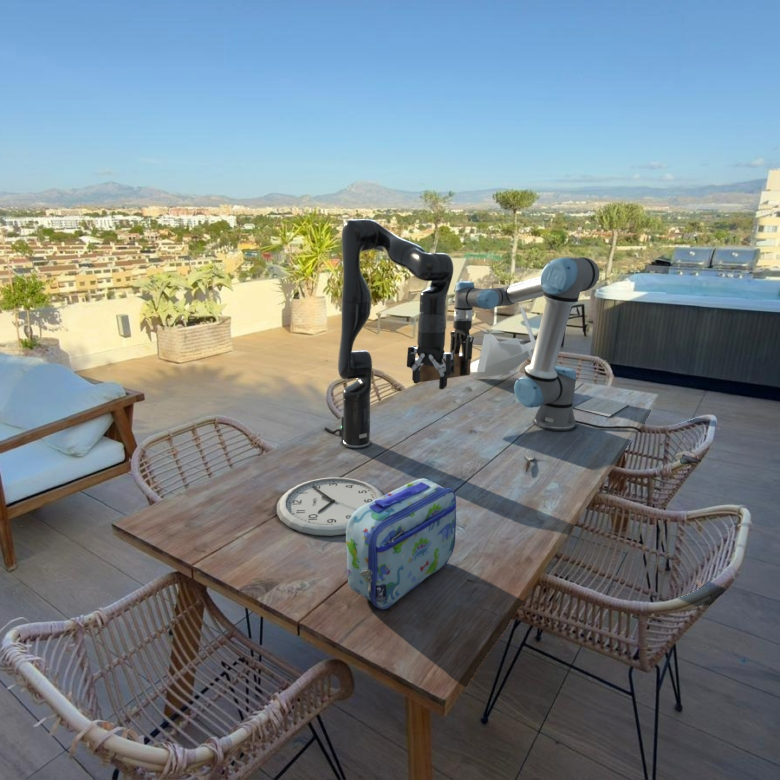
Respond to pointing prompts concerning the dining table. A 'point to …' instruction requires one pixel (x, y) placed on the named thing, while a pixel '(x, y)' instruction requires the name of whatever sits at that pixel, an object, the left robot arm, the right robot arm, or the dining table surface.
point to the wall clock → (324, 504)
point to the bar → (432, 374)
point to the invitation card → (601, 406)
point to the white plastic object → (502, 354)
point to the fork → (529, 460)
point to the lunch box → (400, 540)
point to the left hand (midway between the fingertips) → (429, 385)
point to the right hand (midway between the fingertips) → (459, 373)
